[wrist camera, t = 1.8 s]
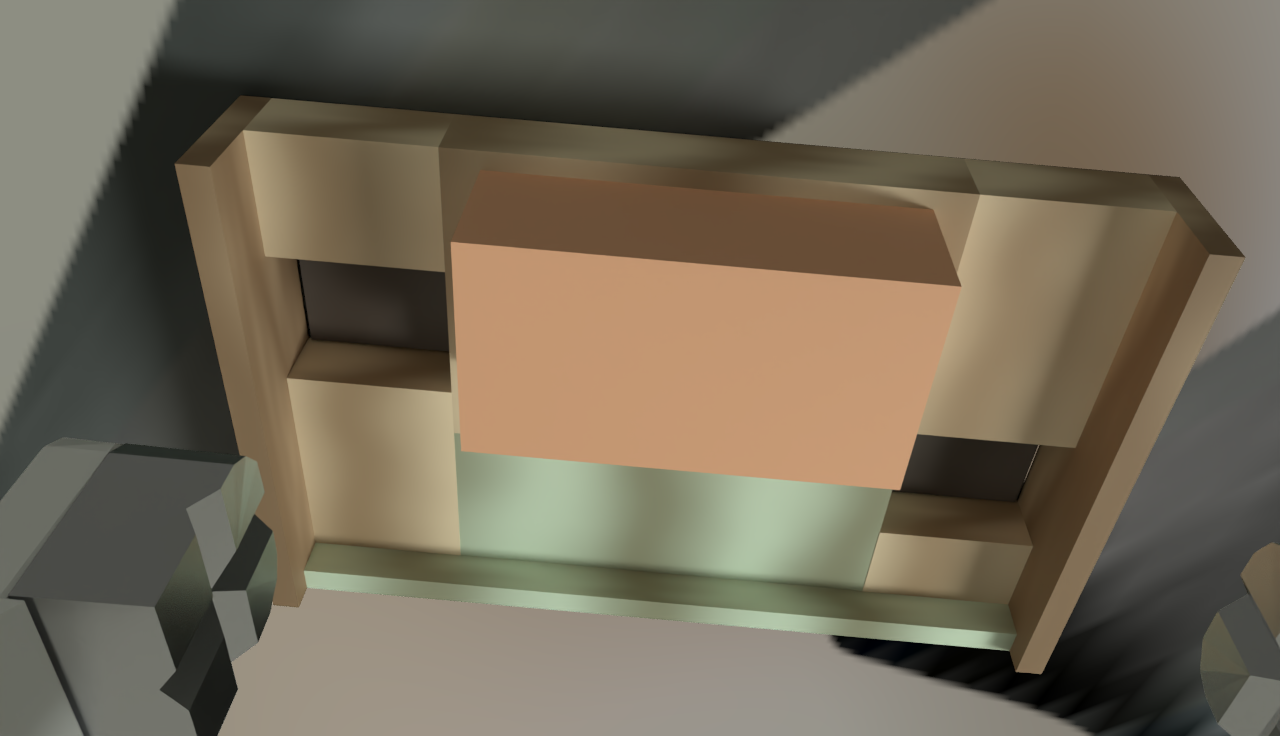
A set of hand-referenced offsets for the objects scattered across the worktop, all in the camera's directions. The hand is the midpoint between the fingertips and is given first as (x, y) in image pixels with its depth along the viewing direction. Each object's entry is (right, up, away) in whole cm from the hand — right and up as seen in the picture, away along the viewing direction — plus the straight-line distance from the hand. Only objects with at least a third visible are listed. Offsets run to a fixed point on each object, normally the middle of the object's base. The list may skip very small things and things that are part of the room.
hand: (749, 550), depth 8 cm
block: (0, +3, +18) cm, 18 cm away
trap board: (0, +1, +22) cm, 22 cm away
